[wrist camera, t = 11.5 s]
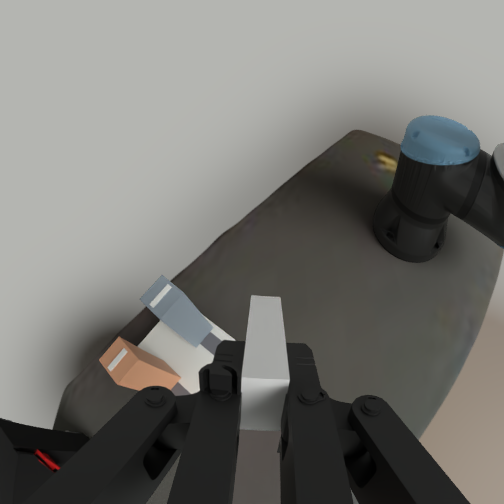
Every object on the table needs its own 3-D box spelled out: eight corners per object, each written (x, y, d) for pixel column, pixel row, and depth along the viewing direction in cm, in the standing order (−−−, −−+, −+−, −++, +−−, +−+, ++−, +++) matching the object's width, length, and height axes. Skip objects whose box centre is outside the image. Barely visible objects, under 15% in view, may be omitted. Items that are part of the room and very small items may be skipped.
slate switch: (213, 327, 39) (183, 292, 29) (196, 347, 37) (159, 318, 27) (195, 312, 41) (161, 273, 31) (178, 332, 39) (138, 298, 29)
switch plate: (282, 375, 36) (282, 373, 34) (222, 446, 31) (217, 448, 29) (186, 303, 45) (180, 296, 43) (134, 362, 40) (126, 358, 38)
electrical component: (75, 427, 33) (-12, 407, 17) (114, 457, 30) (21, 455, 14) (58, 489, 24) (-20, 486, 8) (95, 520, 21) (15, 533, 5)
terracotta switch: (181, 377, 35) (137, 359, 25) (164, 396, 34) (116, 384, 24) (163, 360, 37) (118, 335, 27) (147, 378, 35) (97, 359, 25)
